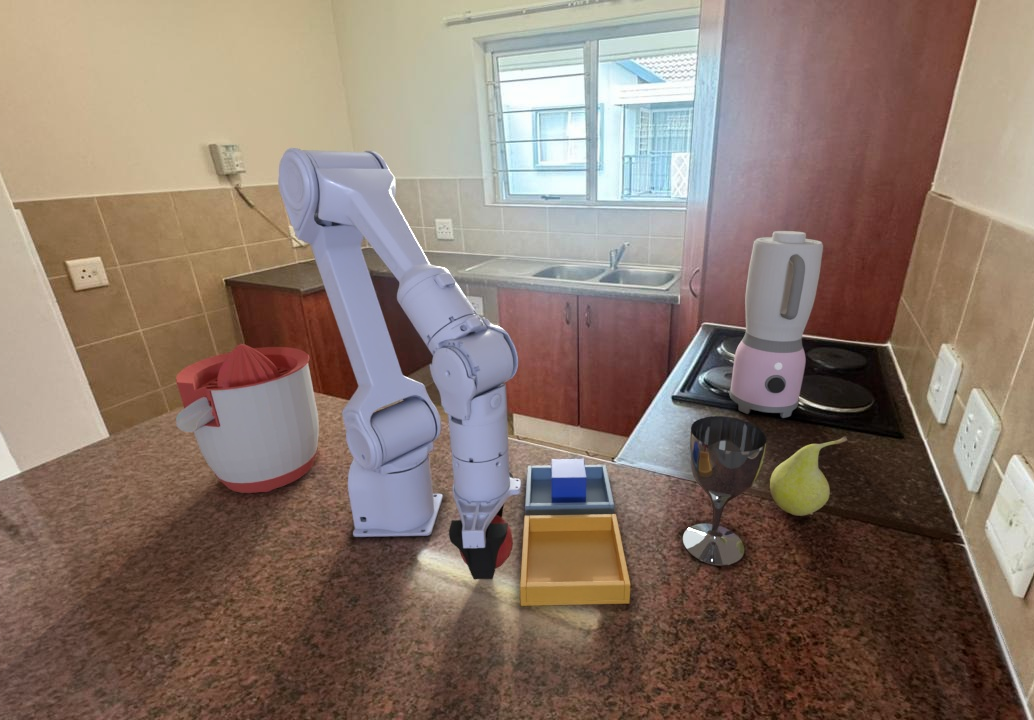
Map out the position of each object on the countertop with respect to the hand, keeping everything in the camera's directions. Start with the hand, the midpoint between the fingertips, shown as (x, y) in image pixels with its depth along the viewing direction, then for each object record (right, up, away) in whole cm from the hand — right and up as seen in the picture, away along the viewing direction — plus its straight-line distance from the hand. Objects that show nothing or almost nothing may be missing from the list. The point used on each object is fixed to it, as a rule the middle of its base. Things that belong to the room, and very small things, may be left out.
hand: (486, 554), depth 55 cm
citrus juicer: (-35, +4, +18) cm, 40 cm away
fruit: (+39, +2, +11) cm, 41 cm away
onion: (0, -2, +1) cm, 2 cm away
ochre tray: (+10, -2, +1) cm, 10 cm away
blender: (+47, +12, +39) cm, 62 cm away
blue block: (+9, +3, +12) cm, 16 cm away
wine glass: (+26, -1, +5) cm, 27 cm away
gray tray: (+9, +3, +13) cm, 16 cm away
